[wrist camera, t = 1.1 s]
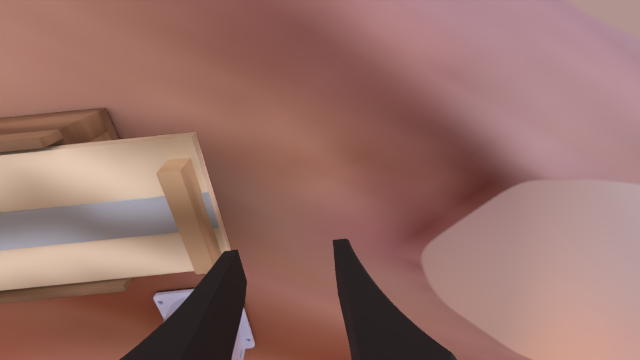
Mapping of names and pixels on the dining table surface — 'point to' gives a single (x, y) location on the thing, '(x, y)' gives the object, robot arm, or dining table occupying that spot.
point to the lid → (107, 212)
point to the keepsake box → (54, 133)
